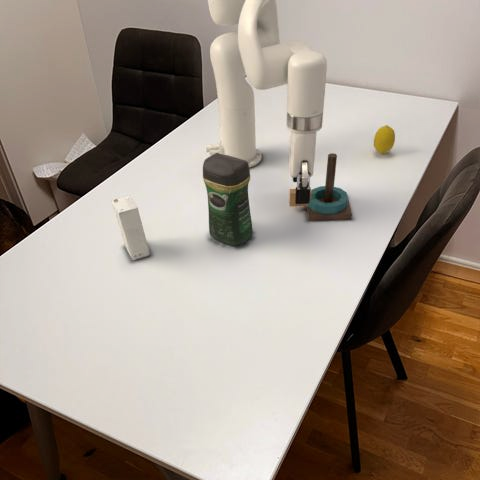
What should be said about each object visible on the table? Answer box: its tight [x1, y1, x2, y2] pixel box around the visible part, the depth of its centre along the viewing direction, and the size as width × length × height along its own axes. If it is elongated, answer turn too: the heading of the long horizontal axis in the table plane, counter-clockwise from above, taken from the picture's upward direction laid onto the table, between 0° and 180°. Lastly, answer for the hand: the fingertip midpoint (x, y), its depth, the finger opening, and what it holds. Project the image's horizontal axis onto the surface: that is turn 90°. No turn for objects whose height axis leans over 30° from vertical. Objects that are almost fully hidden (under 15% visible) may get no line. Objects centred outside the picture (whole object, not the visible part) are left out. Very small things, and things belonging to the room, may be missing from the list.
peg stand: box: [305, 152, 353, 222], centre depth 109 cm, size 10×10×14 cm
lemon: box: [373, 124, 396, 155], centre depth 129 cm, size 6×6×8 cm
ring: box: [288, 185, 349, 214], centre depth 111 cm, size 14×9×4 cm
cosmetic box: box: [111, 195, 151, 261], centre depth 101 cm, size 6×4×12 cm
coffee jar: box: [202, 153, 254, 247], centre depth 101 cm, size 10×8×19 cm
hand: (300, 192), depth 111 cm, fingers open, 9 cm apart
